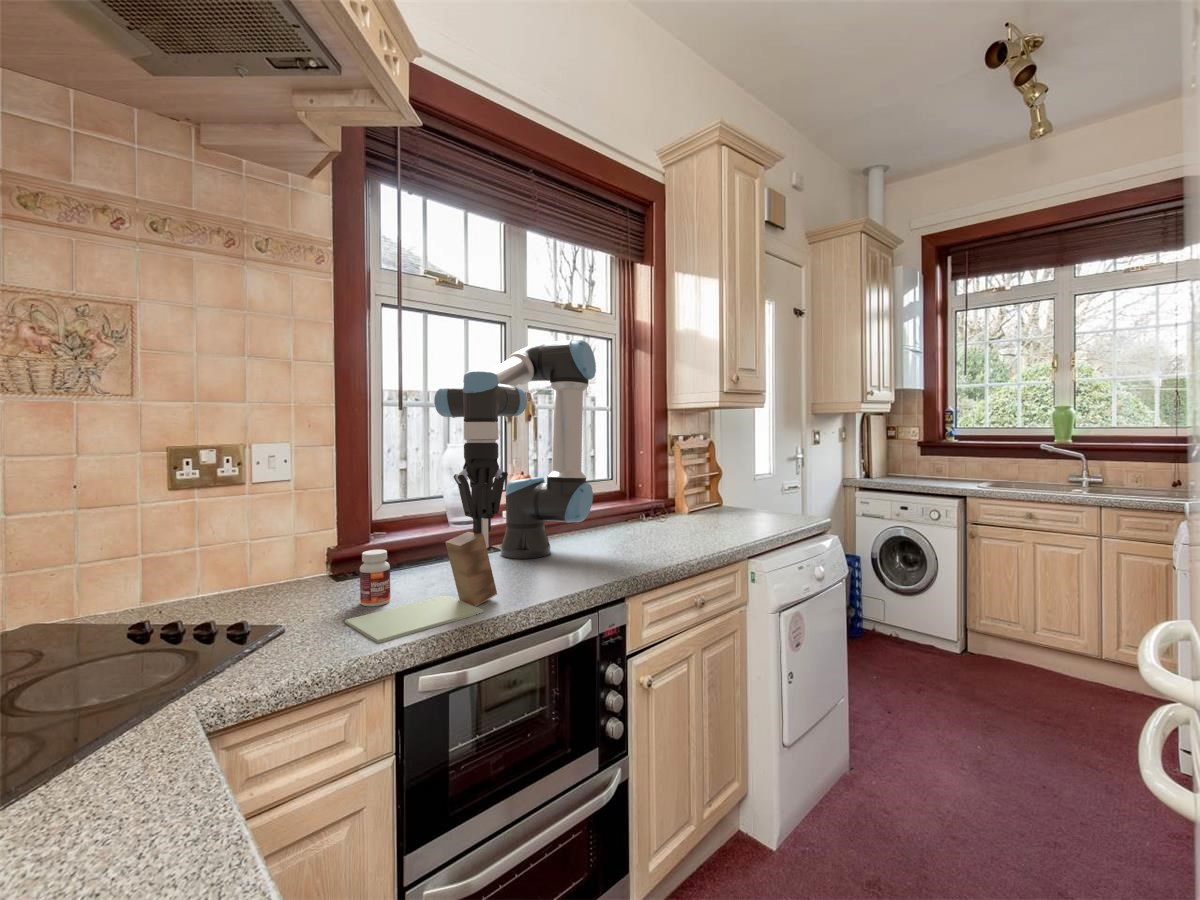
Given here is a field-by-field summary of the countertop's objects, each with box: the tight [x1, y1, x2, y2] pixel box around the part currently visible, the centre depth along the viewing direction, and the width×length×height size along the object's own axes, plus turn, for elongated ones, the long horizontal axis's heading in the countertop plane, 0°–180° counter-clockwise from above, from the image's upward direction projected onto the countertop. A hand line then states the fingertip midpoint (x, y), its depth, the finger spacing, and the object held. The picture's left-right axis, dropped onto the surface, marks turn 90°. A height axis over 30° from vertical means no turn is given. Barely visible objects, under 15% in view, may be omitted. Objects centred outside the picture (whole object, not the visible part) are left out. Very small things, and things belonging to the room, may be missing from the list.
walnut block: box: [444, 531, 498, 607], centre depth 119 cm, size 6×6×14 cm
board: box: [344, 594, 484, 644], centre depth 110 cm, size 22×15×1 cm
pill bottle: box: [359, 549, 391, 608], centre depth 119 cm, size 6×6×11 cm
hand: (482, 547), depth 121 cm, fingers closed
